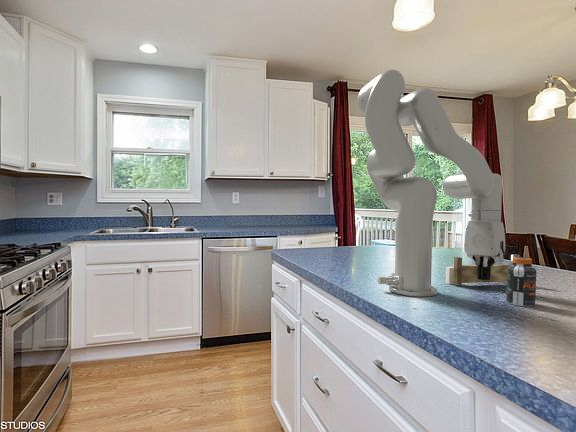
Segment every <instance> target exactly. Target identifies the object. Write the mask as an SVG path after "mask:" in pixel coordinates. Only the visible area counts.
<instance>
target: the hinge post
mask: <svg viewBox="0 0 576 432" xmlns="http://www.w3.org/2000/svg"><path fill="white" fill-rule="evenodd" d="M513 257H521V255H520V254H516V253H515V254H514V253H513V254H510V263H509V265H512V264H513V263H512V258H513ZM500 283H501V284H504V285H507V282H500Z"/></svg>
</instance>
